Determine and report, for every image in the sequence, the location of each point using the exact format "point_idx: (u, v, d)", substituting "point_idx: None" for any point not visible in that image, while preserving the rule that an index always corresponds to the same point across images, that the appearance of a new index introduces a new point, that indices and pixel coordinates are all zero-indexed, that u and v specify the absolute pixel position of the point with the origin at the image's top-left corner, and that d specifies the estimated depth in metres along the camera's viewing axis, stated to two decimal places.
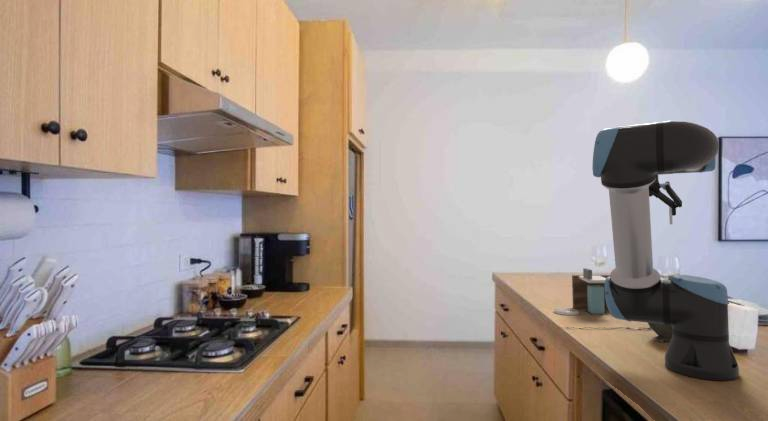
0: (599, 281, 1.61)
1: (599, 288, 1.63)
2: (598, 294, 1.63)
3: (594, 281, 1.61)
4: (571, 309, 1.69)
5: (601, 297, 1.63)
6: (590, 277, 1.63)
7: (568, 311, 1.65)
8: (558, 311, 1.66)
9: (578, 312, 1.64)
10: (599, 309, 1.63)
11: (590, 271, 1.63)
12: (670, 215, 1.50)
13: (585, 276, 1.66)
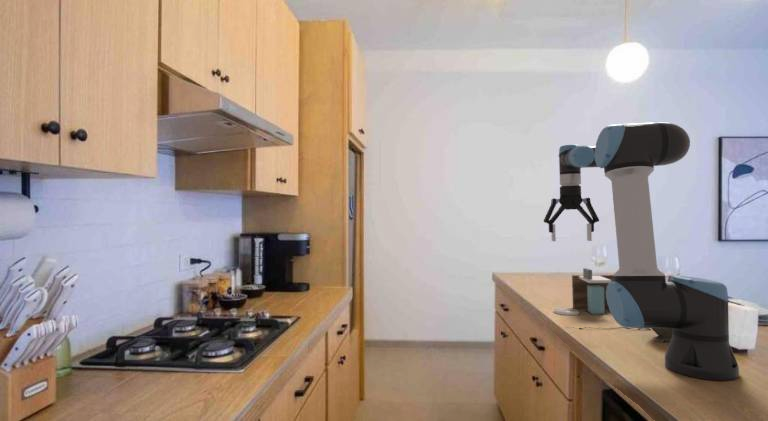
0: (599, 281, 1.61)
1: (599, 288, 1.63)
2: (598, 294, 1.63)
3: (594, 281, 1.61)
4: (571, 309, 1.69)
5: (601, 297, 1.63)
6: (590, 277, 1.63)
7: (568, 311, 1.65)
8: (558, 311, 1.66)
9: (578, 312, 1.64)
10: (599, 309, 1.63)
11: (590, 271, 1.63)
12: (590, 230, 1.64)
13: (585, 276, 1.66)
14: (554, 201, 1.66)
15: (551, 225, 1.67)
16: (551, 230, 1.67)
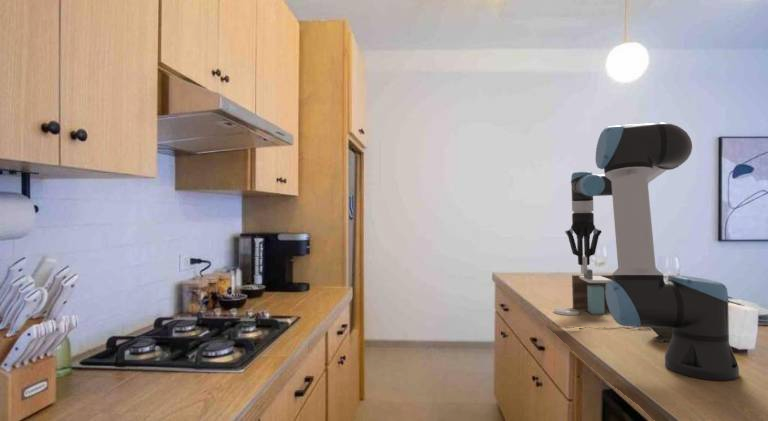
0: (599, 281, 1.61)
1: (599, 288, 1.63)
2: (598, 294, 1.63)
3: (594, 281, 1.61)
4: (571, 309, 1.69)
5: (601, 297, 1.63)
6: (590, 277, 1.63)
7: (568, 311, 1.65)
8: (558, 311, 1.66)
9: (578, 312, 1.64)
10: (599, 309, 1.63)
11: (590, 271, 1.63)
12: (585, 263, 1.65)
13: (585, 276, 1.66)
14: (569, 233, 1.65)
15: (581, 257, 1.65)
16: (581, 263, 1.65)
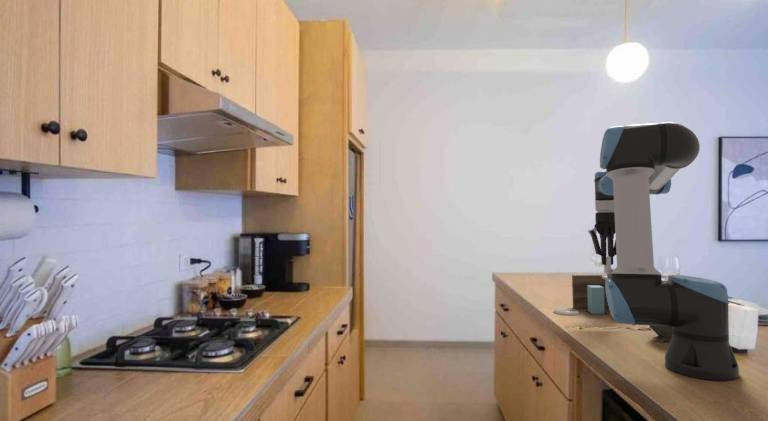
0: None
1: (599, 288, 1.63)
2: (598, 294, 1.63)
3: None
4: (571, 309, 1.69)
5: (601, 297, 1.63)
6: None
7: (568, 311, 1.65)
8: (558, 311, 1.66)
9: (578, 312, 1.64)
10: (599, 309, 1.63)
11: None
12: (609, 263, 1.64)
13: (609, 276, 1.65)
14: (593, 233, 1.64)
15: (604, 257, 1.65)
16: (604, 262, 1.64)
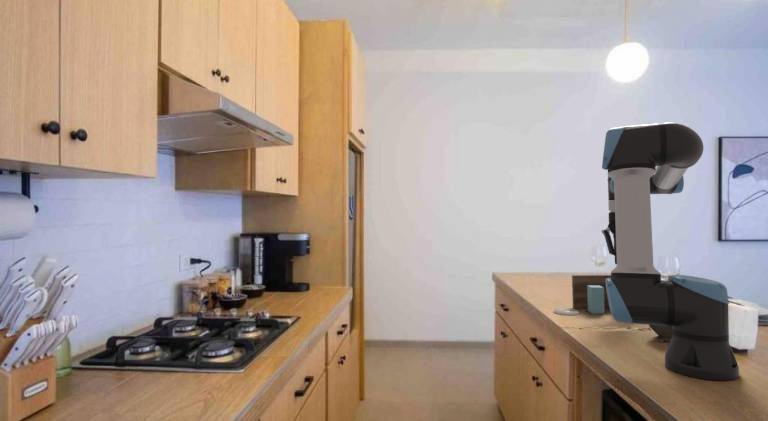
0: None
1: (599, 288, 1.63)
2: (598, 294, 1.63)
3: None
4: (571, 309, 1.69)
5: (601, 297, 1.63)
6: None
7: (568, 311, 1.65)
8: (558, 311, 1.66)
9: (578, 312, 1.64)
10: (599, 309, 1.63)
11: None
12: None
13: None
14: (606, 232, 1.64)
15: None
16: None
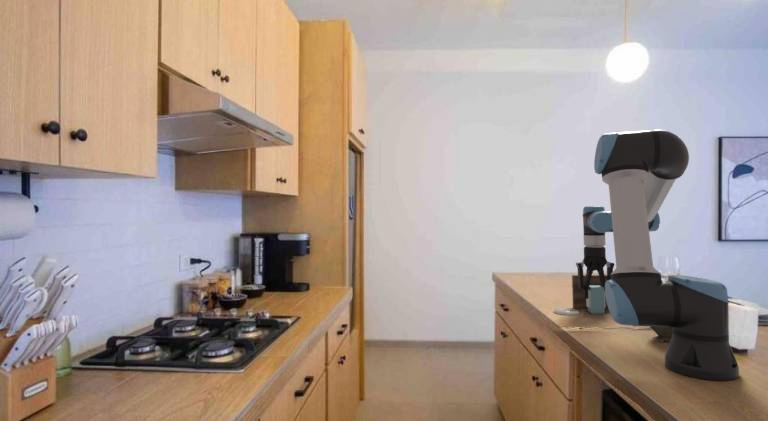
0: None
1: (599, 288, 1.63)
2: (598, 294, 1.63)
3: None
4: (571, 309, 1.69)
5: (601, 297, 1.63)
6: None
7: (568, 311, 1.65)
8: (558, 311, 1.66)
9: (578, 312, 1.64)
10: (599, 309, 1.63)
11: None
12: (604, 297, 1.64)
13: None
14: (580, 266, 1.65)
15: (586, 291, 1.65)
16: (586, 296, 1.65)
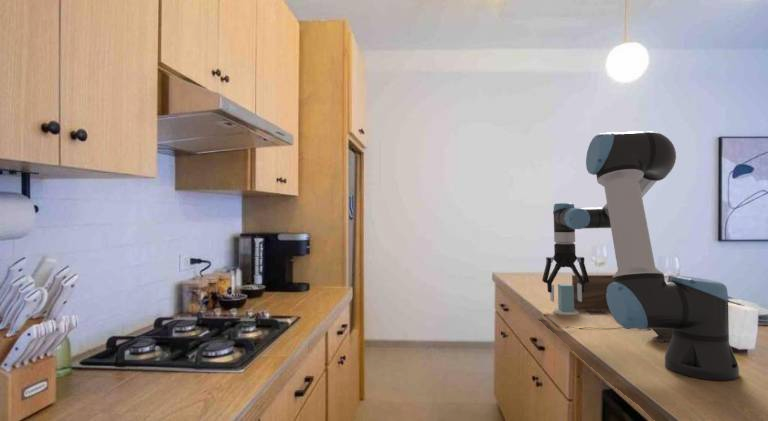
0: None
1: (569, 286, 1.64)
2: (567, 292, 1.65)
3: None
4: None
5: (571, 295, 1.64)
6: None
7: None
8: (558, 311, 1.66)
9: (578, 312, 1.64)
10: (568, 307, 1.65)
11: None
12: (580, 291, 1.65)
13: None
14: (549, 260, 1.66)
15: (550, 285, 1.67)
16: (550, 290, 1.67)
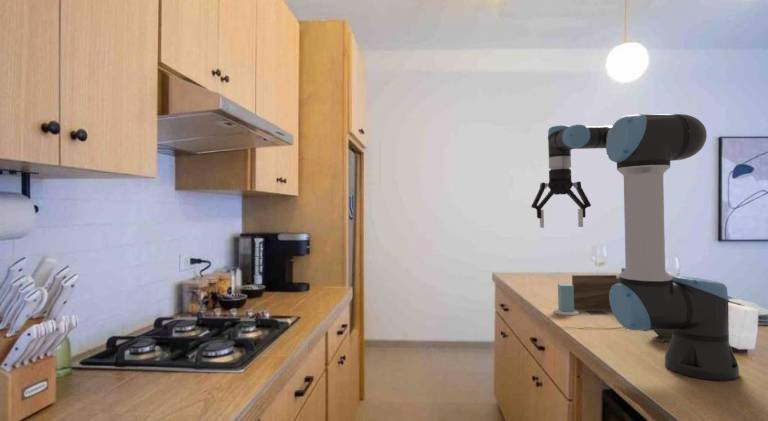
0: None
1: (569, 286, 1.64)
2: (567, 292, 1.65)
3: None
4: None
5: (571, 295, 1.64)
6: None
7: None
8: (558, 311, 1.66)
9: (578, 312, 1.64)
10: (568, 307, 1.65)
11: None
12: (581, 216, 1.55)
13: None
14: (543, 185, 1.57)
15: (539, 210, 1.58)
16: (539, 216, 1.58)
